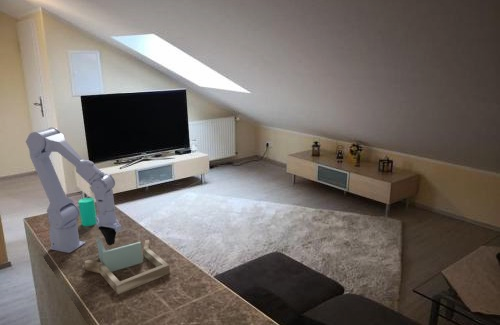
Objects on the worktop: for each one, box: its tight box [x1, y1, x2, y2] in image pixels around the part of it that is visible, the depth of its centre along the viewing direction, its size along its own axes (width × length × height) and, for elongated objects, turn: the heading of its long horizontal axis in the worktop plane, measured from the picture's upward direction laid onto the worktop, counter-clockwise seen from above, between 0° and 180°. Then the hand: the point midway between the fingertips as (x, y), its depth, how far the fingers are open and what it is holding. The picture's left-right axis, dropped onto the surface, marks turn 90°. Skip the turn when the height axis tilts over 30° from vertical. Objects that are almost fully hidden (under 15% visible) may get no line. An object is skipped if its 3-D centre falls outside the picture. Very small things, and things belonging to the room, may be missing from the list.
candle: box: [78, 196, 98, 227], centre depth 158 cm, size 6×6×12 cm
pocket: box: [84, 239, 171, 295], centre depth 123 cm, size 21×23×3 cm
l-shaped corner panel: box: [96, 237, 144, 273], centre depth 129 cm, size 12×12×8 cm
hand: (110, 244), depth 136 cm, fingers closed
